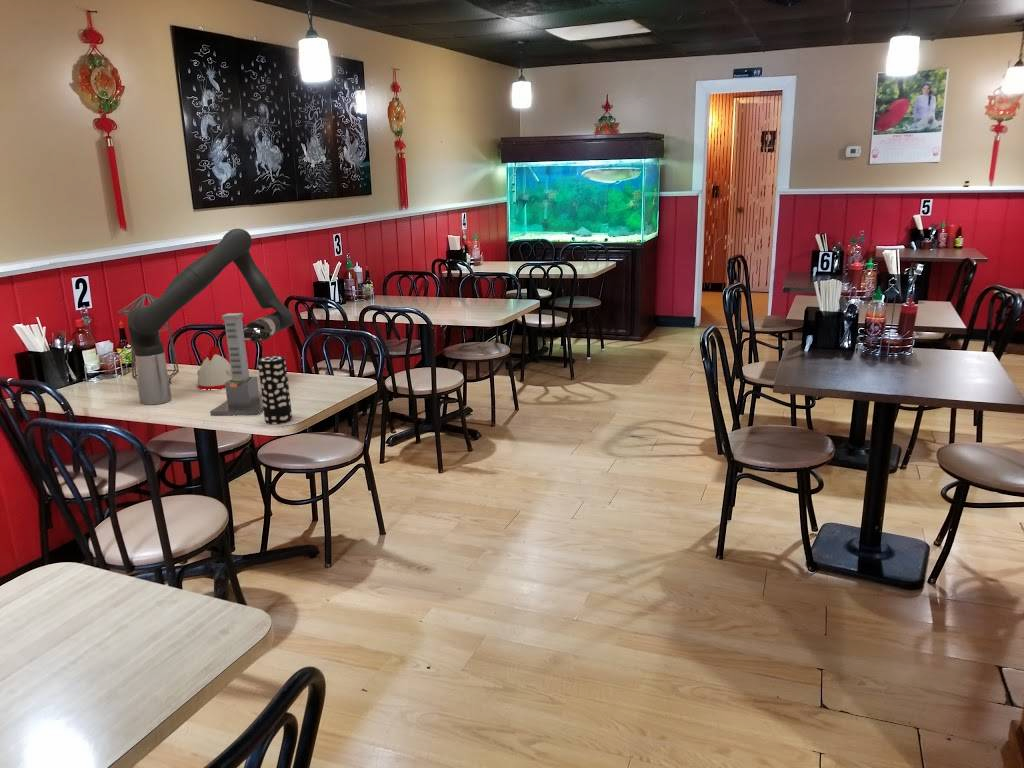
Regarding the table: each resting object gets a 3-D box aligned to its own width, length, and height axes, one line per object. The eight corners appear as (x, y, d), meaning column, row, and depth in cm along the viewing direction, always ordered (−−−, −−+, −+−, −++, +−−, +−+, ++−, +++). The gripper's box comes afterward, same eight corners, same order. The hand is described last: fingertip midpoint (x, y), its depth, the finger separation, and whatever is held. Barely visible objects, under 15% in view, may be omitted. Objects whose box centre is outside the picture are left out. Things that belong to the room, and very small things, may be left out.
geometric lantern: (147, 381, 296) (135, 291, 287) (187, 381, 295) (176, 291, 286) (126, 391, 280) (112, 297, 272) (168, 391, 280) (156, 297, 271)
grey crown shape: (243, 380, 292) (238, 342, 288) (227, 390, 278) (222, 350, 274) (208, 380, 293) (203, 342, 289) (191, 390, 280) (185, 350, 276)
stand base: (210, 415, 248) (206, 386, 245) (232, 401, 263) (228, 373, 260) (257, 415, 246) (254, 385, 243) (277, 401, 261) (273, 373, 259)
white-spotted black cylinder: (270, 416, 244) (262, 356, 239) (295, 416, 244) (288, 355, 239) (261, 424, 236) (253, 362, 231) (287, 424, 236) (280, 361, 231)
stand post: (230, 385, 250) (221, 315, 244) (237, 381, 255) (227, 313, 249) (246, 385, 250) (236, 315, 244) (251, 381, 254) (243, 313, 248)
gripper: (239, 319, 267) (218, 328, 251) (278, 318, 265) (259, 327, 250) (242, 340, 269) (221, 350, 253) (281, 339, 267) (262, 349, 252)
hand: (240, 339), depth 252 cm, fingers open, 8 cm apart
